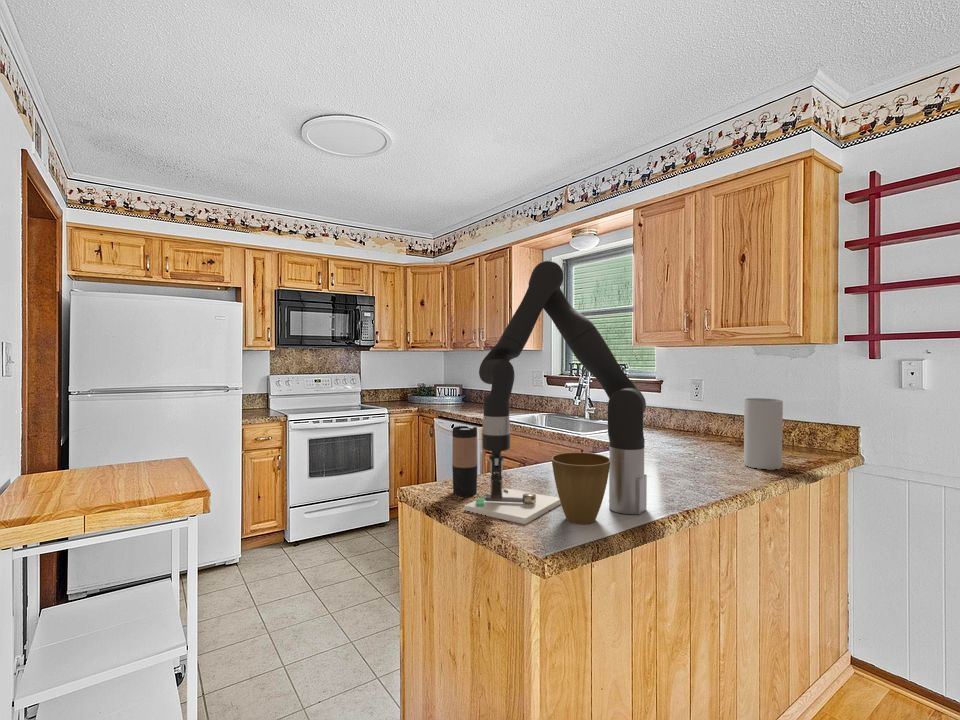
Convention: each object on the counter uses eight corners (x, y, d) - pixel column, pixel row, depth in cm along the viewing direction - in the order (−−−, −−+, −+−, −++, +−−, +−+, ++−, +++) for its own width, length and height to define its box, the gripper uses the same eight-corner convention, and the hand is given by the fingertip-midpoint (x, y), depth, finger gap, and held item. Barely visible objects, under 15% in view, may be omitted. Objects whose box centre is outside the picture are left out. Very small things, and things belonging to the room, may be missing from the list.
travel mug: (455, 497, 153) (455, 430, 152) (450, 490, 160) (449, 426, 160) (480, 495, 155) (480, 429, 154) (473, 489, 162) (473, 425, 162)
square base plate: (561, 503, 147) (561, 495, 147) (525, 524, 129) (525, 515, 129) (503, 492, 158) (503, 485, 158) (462, 510, 140) (462, 502, 140)
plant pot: (546, 511, 140) (546, 452, 139) (600, 510, 141) (600, 451, 140) (558, 530, 125) (558, 464, 125) (618, 529, 126) (618, 463, 126)
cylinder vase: (736, 464, 196) (736, 399, 195) (759, 461, 200) (760, 397, 200) (765, 472, 184) (766, 402, 184) (789, 468, 189) (790, 400, 188)
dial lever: (536, 500, 143) (536, 475, 143) (535, 504, 139) (535, 478, 139) (486, 498, 145) (486, 473, 145) (485, 502, 141) (484, 476, 141)
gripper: (511, 436, 134) (511, 498, 134) (509, 427, 148) (509, 484, 148) (482, 436, 134) (482, 498, 134) (483, 427, 148) (483, 484, 149)
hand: (496, 490), depth 141 cm, fingers open, 8 cm apart
